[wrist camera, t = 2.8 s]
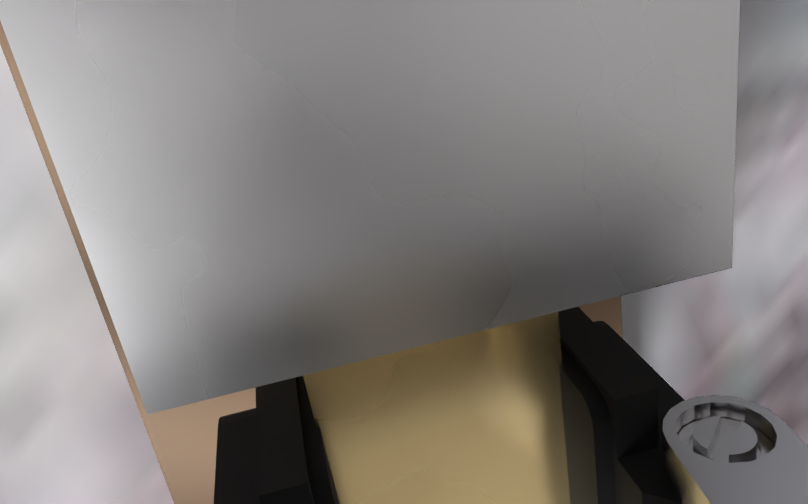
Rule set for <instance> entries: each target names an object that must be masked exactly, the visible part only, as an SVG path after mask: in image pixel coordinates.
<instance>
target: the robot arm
mask: <svg viewBox="0 0 808 504" xmlns="http://www.w3.org/2000/svg"><path fill="white" fill-rule="evenodd" d="M558 317H559V329H560V342H561V354H562V364H561V365H559V373H560V385H561V397H562V409H563V421H564V433H565V444H566V456H567V468H568V480H569V492H570V504H808V446H807V445H806V444H805V443H804V442H803V441H802V440H801V438H800V437H799V436H798V435H797V434H796V433H795V432H794V431H793V430H792V429H791V428H790V427H789V426H788V425H787V424H786V423H785V422H784V421H783V420H782V419H781V418H779V417H778V416H777V415H776V414H774V413H773V412H772V411H770V410H769V409H767V408H765V407H763V406H761V405H759V404H756V403H754V402H752V401H749V400H745V399H741V398H737V397H732V396H720V395H709V396H699V397H694V398H691V399H688V400H684V399H683V398H682V397H681V396H680V395H679V394H678V393H677V392H676V391H675V390H674V389H673V388H672V387H671V386H670V385H669V384H668V383H667V382H666V381H665V380H664V379H663V378H662V377H661V376H660V375H659V374H658V373H657V372H656V371H655V370H654V369H653V368H652V367H651V366H649V365H648V364H647V363H646V362H645V361H644V360H643V359H642V358H641V357H640V356H639V355H638V354H637V353H636V352H635V351H634V350H633V349H632V348H631V347H630V346H629V345H628V344H627V343H626V342H625V341H624V340H623V339H622V338H621V337H620V336H619V335H618V334H617V333H616V332H615V331H614V330H613V329H612V328H611V327H610V326H609V325H608V324H607V323H605V322H604V321H595V322H593V321H592V320H591V319H590V318H589V317H588V316H587V315H586V314H585V313H584V312H583V311H582V310H581V309H580V308H579V307H574V308H570V309H566V310H562V311H558ZM255 388H256V408H253V409H249V410H245V411H242V412H238V413H234V414H230V415H226V416H222V417H220V418H219V422H218V434H217V452H216V470H215V487H214V504H339V500H338V496H337V492H336V488H335V484H334V480H333V476H332V472H331V468H330V465H329V461H328V457H327V453H326V449H325V445H324V441H323V437H322V433H321V429H320V428H316V424H315V420H314V416H313V412H312V408H311V404H310V401H309V397H308V393H307V389H306V385H305V381H304V377H303V376H299V377H295V378H291V379H287V380H283V381H279V382H275V383H271V384H267V385H263V386H259V387H255Z"/></svg>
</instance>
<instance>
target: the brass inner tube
mask: <svg viewBox="0 0 808 504" xmlns="http://www.w3.org/2000/svg"><path fill="white" fill-rule="evenodd" d="M561 364H562V354H561V342H560V329H559V317H558V312H554V313H550V314H546V315H542V316H538V317H534V318H530V319H526V320H522V321H518V322H514V323H510V324H506V325H502V326H498V327H494V328H490V329H486V330H482V331H478V332H474V333H470V334H466V335H462V336H458V337H454V338H450V339H446V340H442V341H438V342H434V343H430V344H426V345H422V346H418V347H415V348H411V349H407V350H403V351H399V352H395V353H391V354H387V355H383V356H379V357H375V358H371V359H367V360H363V361H359V362H355V363H351V364H347V365H343V366H339V367H335V368H331V369H327V370H323V371H319V372H315V373H311V374H307V375H303V377H304V381H305V385H306V389H307V393H308V397H309V401H310V404H311V408H312V412H313V416H314V420H315V424H316V428H320V429H321V433H322V437H323V441H324V445H325V449H326V453H327V457H328V461H329V465H330V468H331V472H332V476H333V480H334V484H335V488H336V492H337V496H338V500H339V504H570V492H569V480H568V468H567V456H566V444H565V433H564V421H563V409H562V397H561V385H560V373H559V365H561Z"/></svg>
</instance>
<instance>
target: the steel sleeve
mask: <svg viewBox="0 0 808 504" xmlns="http://www.w3.org/2000/svg"><path fill="white" fill-rule="evenodd" d="M739 20H740V0H0V21H1V24H2V26H3V29H4V32H5V34H6V37H7V40H8V42H9V45H10V48H11V51H12V53H13V56H14V59H15V61H16V64H17V67H18V69H19V72H20V75H21V77H22V80H23V83H24V85H25V88H26V91H27V93H28V96H29V99H30V101H31V104H32V107H33V109H34V112H35V115H36V117H37V120H38V123H39V125H40V128H41V131H42V133H43V136H44V139H45V141H46V144H47V147H48V150H49V152H50V155H51V158H52V160H53V163H54V166H55V168H56V171H57V174H58V176H59V179H60V182H61V184H62V187H63V190H64V192H65V195H66V198H67V200H68V203H69V206H70V208H71V211H72V214H73V216H74V219H75V222H76V224H77V227H78V230H79V232H80V235H81V238H82V240H83V243H84V246H85V249H86V251H87V254H88V257H89V259H90V262H91V265H92V267H93V270H94V273H95V275H96V278H97V281H98V283H99V286H100V289H101V291H102V294H103V297H104V299H105V302H106V305H107V307H108V310H109V313H110V315H111V318H112V321H113V323H114V326H115V329H116V331H117V334H118V337H119V339H120V342H121V345H122V348H123V350H124V353H125V356H126V358H127V361H128V364H129V366H130V369H131V372H132V374H133V377H134V380H135V382H136V385H137V388H138V390H139V393H140V396H141V398H142V401H143V404H144V406H145V409H146V412H147V414H152V413H156V412H160V411H163V410H167V409H171V408H175V407H179V406H183V405H187V404H191V403H195V402H199V401H203V400H207V399H211V398H215V397H219V396H223V395H227V394H231V393H235V392H239V391H243V390H247V389H251V388H255V387H259V386H263V385H267V384H271V383H275V382H279V381H283V380H287V379H291V378H295V377H299V376H303V375H307V374H311V373H315V372H319V371H323V370H327V369H331V368H335V367H339V366H343V365H347V364H351V363H355V362H359V361H363V360H367V359H371V358H375V357H379V356H383V355H387V354H391V353H395V352H399V351H403V350H407V349H411V348H415V347H418V346H422V345H426V344H430V343H434V342H438V341H442V340H446V339H450V338H454V337H458V336H462V335H466V334H470V333H474V332H478V331H482V330H486V329H490V328H494V327H498V326H502V325H506V324H510V323H514V322H518V321H522V320H526V319H530V318H534V317H538V316H542V315H546V314H550V313H554V312H558V311H562V310H566V309H570V308H574V307H578V306H582V305H586V304H590V303H594V302H598V301H602V300H606V299H610V298H614V297H618V296H622V295H626V294H630V293H634V292H638V291H642V290H646V289H650V288H654V287H658V286H662V285H666V284H670V283H673V282H677V281H681V280H685V279H689V278H693V277H697V276H701V275H705V274H709V273H713V272H717V271H721V270H725V269H729V268H732V246H733V214H734V182H735V149H736V117H737V85H738V52H739Z"/></svg>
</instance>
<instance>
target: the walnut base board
mask: <svg viewBox="0 0 808 504" xmlns="http://www.w3.org/2000/svg"><path fill="white" fill-rule="evenodd" d="M0 44H1V47H2V50H3V52H4V55H5V57H6V60H7V63H8V65H9V68H10V71H11V73H12V76H13V79H14V81H15V84H16V86H17V89H18V92H19V94H20V97H21V100H22V102H23V105H24V108H25V110H26V113H27V116H28V118H29V121H30V123H31V126H32V129H33V131H34V134H35V137H36V139H37V142H38V145H39V147H40V150H41V153H42V155H43V158H44V160H45V163H46V166H47V168H48V171H49V174H50V176H51V179H52V182H53V184H54V187H55V190H56V192H57V195H58V197H59V200H60V203H61V205H62V208H63V211H64V213H65V216H66V219H67V221H68V224H69V227H70V229H71V232H72V234H73V237H74V240H75V242H76V245H77V248H78V250H79V253H80V256H81V258H82V261H83V263H84V266H85V269H86V271H87V274H88V277H89V279H90V282H91V285H92V287H93V290H94V293H95V295H96V298H97V300H98V303H99V306H100V308H101V311H102V314H103V316H104V319H105V322H106V324H107V327H108V330H109V332H110V335H111V337H112V340H113V343H114V345H115V348H116V351H117V353H118V356H119V359H120V361H121V364H122V367H123V369H124V372H125V374H126V377H127V380H128V382H129V385H130V388H131V390H132V393H133V396H134V398H135V401H136V403H137V406H138V409H139V411H140V414H141V417H142V419H143V422H144V425H145V427H146V430H147V433H148V435H149V438H150V440H151V443H152V446H153V448H154V451H155V454H156V456H157V459H158V462H159V464H160V467H161V470H162V472H163V475H164V477H165V480H166V483H167V485H168V488H169V491H170V493H171V496H172V499H173V501H174V504H214V487H215V470H216V452H217V434H218V422H219V418H220V417H222V416H226V415H230V414H234V413H238V412H242V411H245V410H249V409H253V408H256V388H251V389H247V390H243V391H239V392H235V393H231V394H227V395H223V396H219V397H215V398H211V399H207V400H203V401H199V402H195V403H191V404H187V405H183V406H179V407H175V408H171V409H167V410H163V411H160V412H156V413H152V414H147V412H146V409H145V406H144V404H143V401H142V398H141V396H140V393H139V390H138V388H137V385H136V382H135V380H134V377H133V374H132V372H131V369H130V366H129V364H128V361H127V358H126V356H125V353H124V350H123V348H122V345H121V342H120V339H119V337H118V334H117V331H116V329H115V326H114V323H113V321H112V318H111V315H110V313H109V310H108V307H107V305H106V302H105V299H104V297H103V294H102V291H101V289H100V286H99V283H98V281H97V278H96V275H95V273H94V270H93V267H92V265H91V262H90V259H89V257H88V254H87V251H86V249H85V246H84V243H83V240H82V238H81V235H80V232H79V230H78V227H77V224H76V222H75V219H74V216H73V214H72V211H71V208H70V206H69V203H68V200H67V198H66V195H65V192H64V190H63V187H62V184H61V182H60V179H59V176H58V174H57V171H56V168H55V166H54V163H53V160H52V158H51V155H50V152H49V150H48V147H47V144H46V141H45V139H44V136H43V133H42V131H41V128H40V125H39V123H38V120H37V117H36V115H35V112H34V109H33V107H32V104H31V101H30V99H29V96H28V93H27V91H26V88H25V85H24V83H23V80H22V77H21V75H20V72H19V69H18V67H17V64H16V61H15V59H14V56H13V53H12V51H11V48H10V45H9V42H8V40H7V37H6V34H5V32H4V29H3V26H2V24H1V21H0ZM578 307H579V308H580V309H581V310H582V311H583V312H584V313H585V314H586V315H587V316H588V317H589V318H590V319H591V320H592V321H593V322H595V321H604V322H605V323H607V324H608V325H609V326H610V327H611V328H612V329H613V330H614V331H615V332H616V333H617V334H618V335H619V336H620V337H621V338H622V319H621V296H618V297H614V298H610V299H606V300H602V301H598V302H594V303H590V304H586V305H582V306H578Z"/></svg>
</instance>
